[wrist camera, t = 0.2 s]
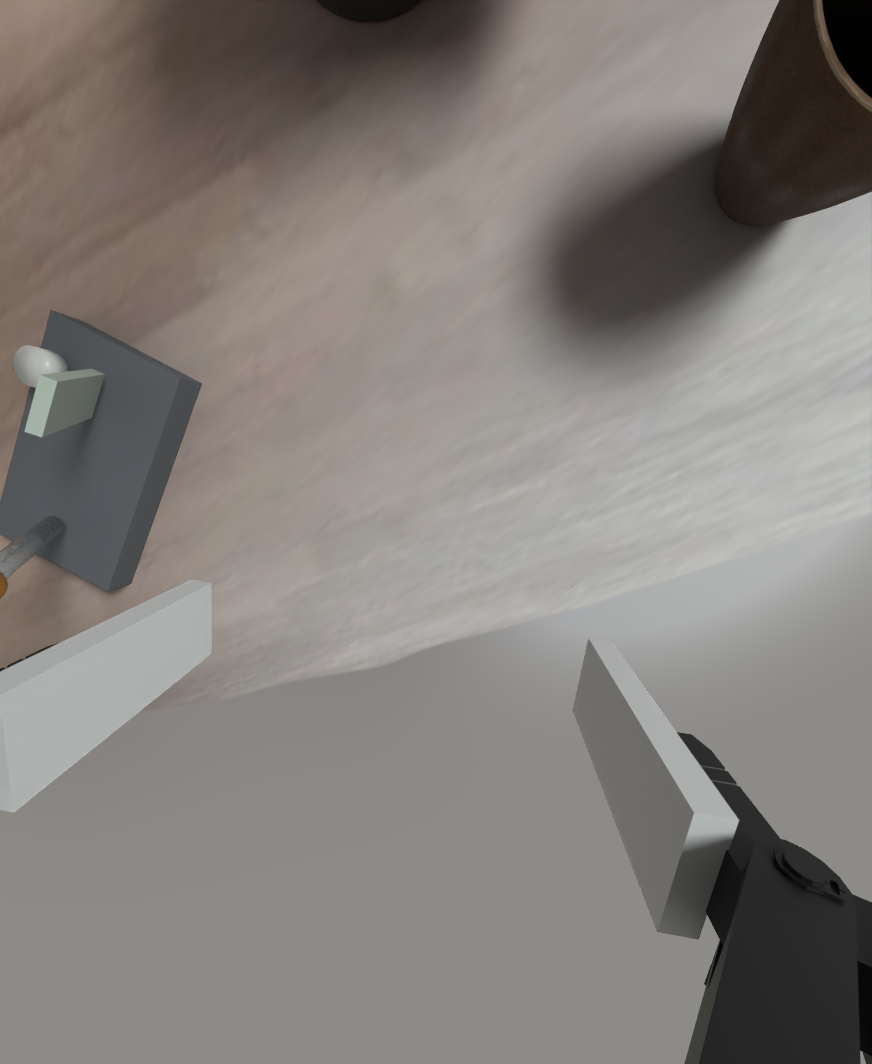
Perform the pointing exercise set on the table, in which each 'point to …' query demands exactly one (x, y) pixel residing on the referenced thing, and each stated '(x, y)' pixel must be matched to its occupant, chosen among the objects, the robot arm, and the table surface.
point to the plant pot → (802, 115)
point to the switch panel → (100, 458)
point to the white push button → (36, 364)
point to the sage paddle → (63, 400)
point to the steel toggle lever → (27, 547)
